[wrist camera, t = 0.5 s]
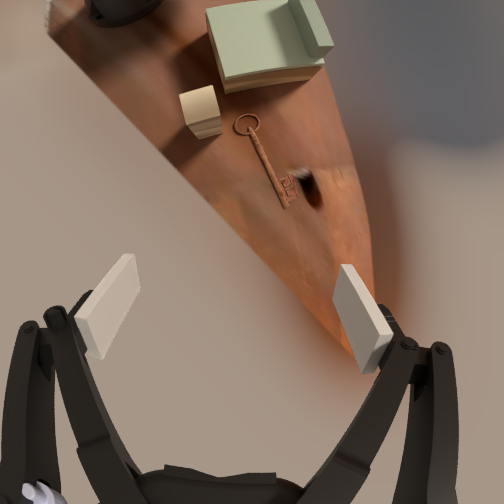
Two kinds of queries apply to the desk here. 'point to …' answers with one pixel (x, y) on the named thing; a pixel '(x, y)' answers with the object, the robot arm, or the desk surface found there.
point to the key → (269, 169)
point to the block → (201, 112)
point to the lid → (268, 36)
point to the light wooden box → (260, 74)
